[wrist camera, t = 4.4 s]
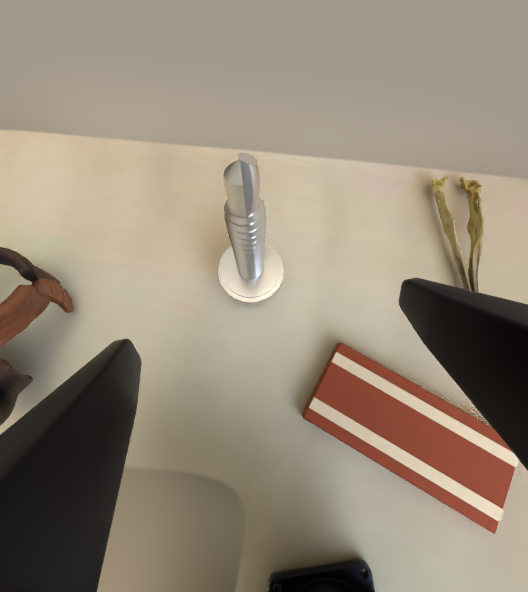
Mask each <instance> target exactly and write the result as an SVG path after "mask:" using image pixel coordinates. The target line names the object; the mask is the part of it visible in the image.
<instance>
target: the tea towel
mask: <svg viewBox="0 0 528 592" xmlns="http://www.w3.org/2000/svg"><path fill="white" fill-rule="evenodd" d="M302 416H303V418H304V419H306V420H308V421H309V422H311V423H313V424H314V425H316V426H317V427H319V428H321V429H322V430H324V431H326V432H327V433H329V434H331V435H332V436H334V437H336V438H337V439H339V440H341V441H342V442H344V443H345V444H347V445H349V446H350V447H352V448H354V449H355V450H357V451H359V452H360V453H362V454H364V455H365V456H367V457H369V458H370V459H372V460H373V461H375V462H377V463H378V464H380V465H382V466H383V467H385V468H387V469H388V470H390V471H392V472H393V473H395V474H397V475H398V476H400V477H402V478H403V479H405V480H406V481H408V482H410V483H411V484H413V485H415V486H416V487H418V488H420V489H421V490H423V491H425V492H426V493H428V494H430V495H431V496H433V497H434V498H436V499H438V500H439V501H441V502H443V503H444V504H446V505H448V506H449V507H451V508H453V509H454V510H456V511H458V512H459V513H461V514H463V515H464V516H466V517H467V518H469V519H471V520H472V521H474V522H476V523H477V524H479V525H481V526H482V527H484V528H486V529H487V530H489V531H491V532H492V533H494V534H495V532H496V529H497V526H498V522H500V521H501V518H502V514H503V511H504V510H503V506H504V503H505V499H506V496H507V493H508V489H509V486H510V483H511V480H512V476H513V473H514V470H515V467H516V468H517V465H518V462H519V459H518V458H517V457H516V455H515V454H514V453H513V452H512V451H511V449H510V448H509V447H508V446H507V444H506V443H505V442H504V441H503V440H502V438H501V437H500V436H499V435H498V433H497V432H496V431H495V430H494V429H493V428H491V427H490V426H488V425H486V424H484V423H483V422H481V421H479V420H477V419H476V418H474V417H472V416H470V415H468V414H467V413H465V412H463V411H461V410H460V409H458V408H456V407H454V406H453V405H451V404H449V403H447V402H445V401H444V400H442V399H440V398H438V397H437V396H435V395H433V394H431V393H429V392H428V391H426V390H424V389H422V388H421V387H419V386H417V385H415V384H414V383H412V382H410V381H408V380H406V379H405V378H403V377H401V376H399V375H398V374H396V373H394V372H392V371H390V370H389V369H387V368H385V367H383V366H382V365H380V364H378V363H376V362H375V361H373V360H371V359H369V358H367V357H366V356H364V355H362V354H360V353H359V352H357V351H355V350H353V349H352V348H350V347H348V346H346V345H344V344H343V343H338V344H337V346H336V348H335V350H334V352H333V354H332V356H331V358H330V360H329V362H328V364H327V366H326V368H325V370H324V372H323V374H322V376H321V378H320V380H319V382H318V384H317V386H316V388H315V390H314V392H313V394H312V396H311V398H310V400H309V402H308V404H307V406H306V408H305V410H304V412H303V414H302Z"/></svg>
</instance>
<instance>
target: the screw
mask: <svg viewBox="0 0 528 592" xmlns="http://www.w3.org/2000/svg"><path fill="white" fill-rule="evenodd" d="M238 155H239V160H238V161H235V162H233V163H232V164H230V165H229V166H227V168H226V169H225V171H224V186H225V191H226V195H227V200H226V202H225V205H224V211H225V221H226V225H227V229H228V233H229V237H230V241H231V244H232V246H231V247H229V248H228V249H227V250H226V251H225V252H224V254H223V255H222V257H221V259H220V262H219V266H218V276H219V280H220V283H221V285H222V287H223V288H224V290H225V291H226V292H227V293H228V294H229V295H230V296H231V297H233V298H234V299H236V300H239V301H242V302H247V303H255V302H260V301H263V300H265V299H267V298H269V297H271V296H272V295H273V294H274V293H275V292H276V291H277V289H278V288H279V287H280V284H281V282H282V279H283V274H284V268H283V263H282V259H281V257H280V256H279V254H278V252H277V251H276V250H275V249H274V248H273V247H271V246H270V245H269V244H267V243H265V228H266V210H265V206H264V201H262V200H261V199H260V177H259V169H258V163H257V160H256V159H255V158H254V157H253V156H252V155H249V154H246V153H238Z"/></svg>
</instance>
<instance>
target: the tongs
mask: <svg viewBox="0 0 528 592" xmlns="http://www.w3.org/2000/svg"><path fill="white" fill-rule="evenodd" d="M446 180H447V177H443V178H442V179H441V180H439V179H435V178H434V179H433V180H432V190H433V193H434V195H435V199H436V202H437V206H438V210H439V214H440V218H441V220H442V224H443V229H444V232H445V234H446V235H447V237H448V239H449V242H450V244H451V247H452V250H453V254H454V259H455V261H456V264H457V267H458V270H459V273H460V276H461V280H462V283H463V287H464V289H466V290H470V291H474V292H478V282H477V273H478V263H479V258H480V255H481V250H482V240H483V234H484V220H483V214H482V208H481V198H480V197H479V195H480V194H481V186H482V185H480V184H479V181H475V180H469V181H467V180H465V179H464V178H463V177H462V178H460V183H461V188H462V189H464V190H465V191H466V193H467V198H468V202H469V209H470V218H469V222H468V226H467V229H468V233H469V235H470V239H471V252H470V259H469V268H468V271H467V266H466V262H465V258H464V255H463V253H462V251H461V248H460V246H459V243H458V239H457V234H456V232H455V223H454V218H453V216H452V214H451V212H450V210H449V207H448V204H447V201H446V198H445V195H444V193H443V192H441V191H440V190H442V189H443V188H444V184H445V182H446ZM477 200H478V203H477ZM477 204H478V206H477Z"/></svg>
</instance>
